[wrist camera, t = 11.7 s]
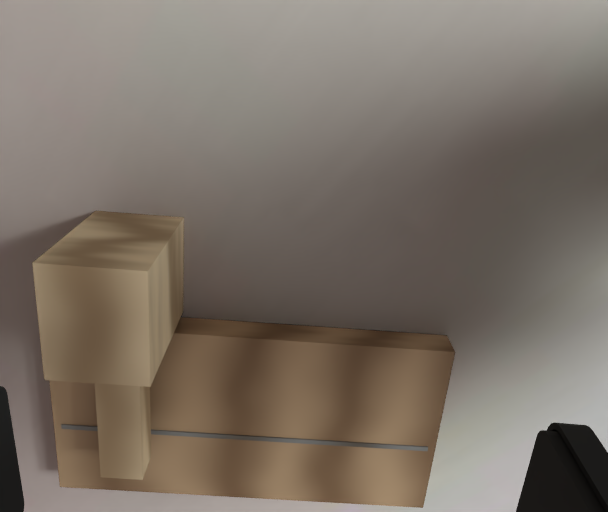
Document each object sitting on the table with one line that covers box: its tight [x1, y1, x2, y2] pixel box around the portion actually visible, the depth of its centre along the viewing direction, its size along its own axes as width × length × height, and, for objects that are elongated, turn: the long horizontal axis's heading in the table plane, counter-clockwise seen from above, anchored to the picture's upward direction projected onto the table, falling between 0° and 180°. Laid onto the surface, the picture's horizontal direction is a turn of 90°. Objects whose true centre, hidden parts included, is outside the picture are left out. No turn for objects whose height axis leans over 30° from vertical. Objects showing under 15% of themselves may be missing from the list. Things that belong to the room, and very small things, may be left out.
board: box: [49, 317, 455, 508], centre depth 35 cm, size 24×12×2 cm, turn 85°
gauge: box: [32, 211, 184, 480], centre depth 30 cm, size 5×14×8 cm, turn 175°
